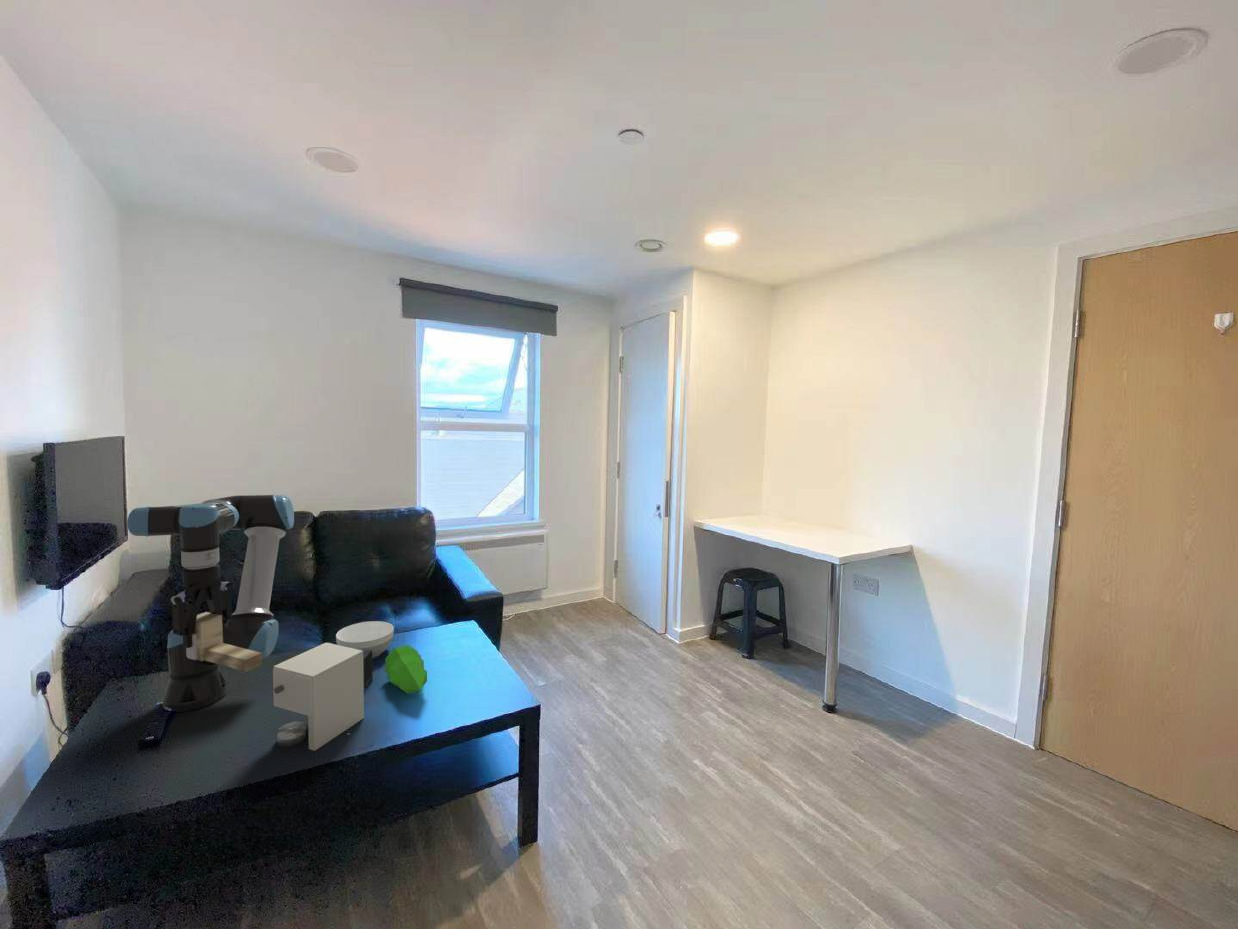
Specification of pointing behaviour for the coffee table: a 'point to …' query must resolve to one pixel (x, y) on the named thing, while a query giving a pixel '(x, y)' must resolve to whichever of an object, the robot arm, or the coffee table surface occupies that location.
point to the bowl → (366, 636)
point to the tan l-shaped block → (221, 645)
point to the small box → (367, 667)
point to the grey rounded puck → (291, 733)
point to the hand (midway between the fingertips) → (205, 653)
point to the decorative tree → (406, 669)
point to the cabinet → (322, 689)
